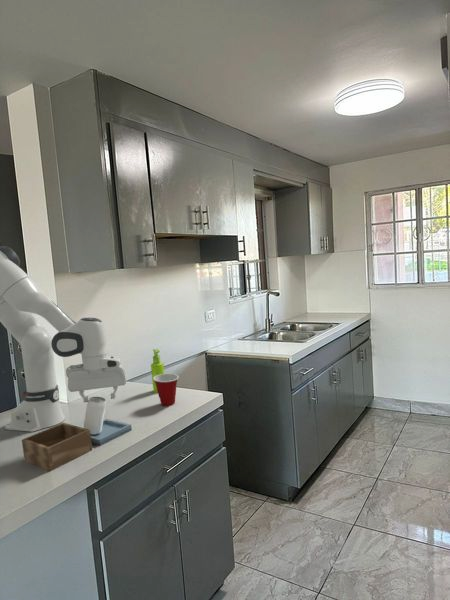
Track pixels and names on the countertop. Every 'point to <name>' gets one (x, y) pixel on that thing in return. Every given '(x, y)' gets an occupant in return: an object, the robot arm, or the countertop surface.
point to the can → (95, 415)
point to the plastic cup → (166, 388)
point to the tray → (110, 431)
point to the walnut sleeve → (56, 446)
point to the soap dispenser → (156, 367)
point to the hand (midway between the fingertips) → (99, 400)
